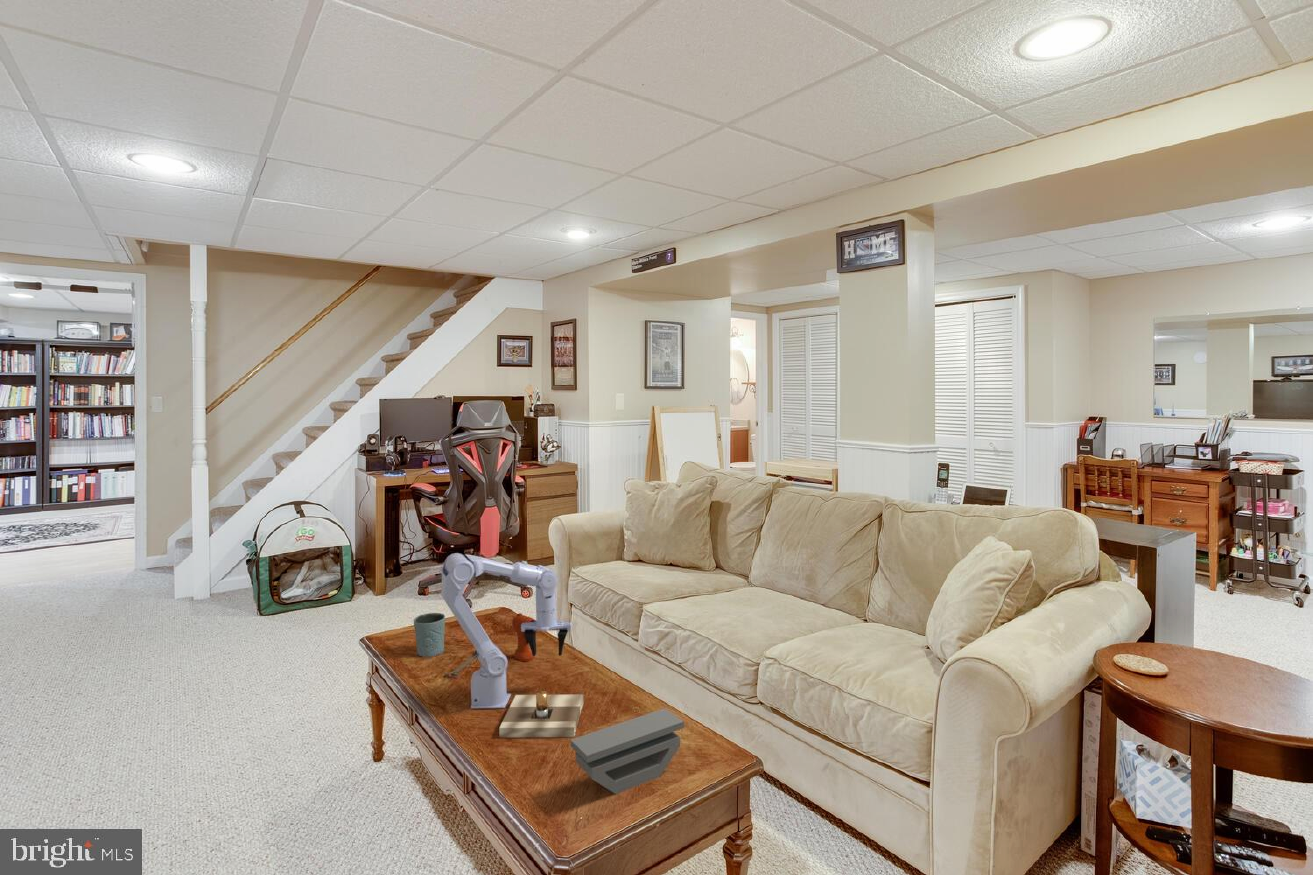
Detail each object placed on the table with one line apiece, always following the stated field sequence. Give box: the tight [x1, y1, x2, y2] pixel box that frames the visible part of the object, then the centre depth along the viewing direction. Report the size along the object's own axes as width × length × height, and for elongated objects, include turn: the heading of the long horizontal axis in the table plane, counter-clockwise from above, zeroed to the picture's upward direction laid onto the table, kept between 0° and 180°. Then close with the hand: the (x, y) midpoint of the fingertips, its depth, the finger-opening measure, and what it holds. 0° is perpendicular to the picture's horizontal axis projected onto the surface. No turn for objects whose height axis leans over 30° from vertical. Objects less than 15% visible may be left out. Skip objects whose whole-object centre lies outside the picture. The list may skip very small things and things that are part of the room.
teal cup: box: [413, 612, 446, 658], centre depth 222 cm, size 10×10×12 cm
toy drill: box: [511, 612, 537, 662], centre depth 213 cm, size 5×19×15 cm, turn 46°
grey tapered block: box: [570, 708, 685, 795], centre depth 149 cm, size 25×8×11 cm, turn 123°
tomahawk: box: [443, 649, 478, 680], centre depth 212 cm, size 21×7×1 cm, turn 167°
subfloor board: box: [498, 693, 585, 738], centre depth 176 cm, size 19×18×2 cm
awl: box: [535, 690, 549, 719], centre depth 174 cm, size 3×3×8 cm
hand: (547, 654), depth 193 cm, fingers open, 7 cm apart
